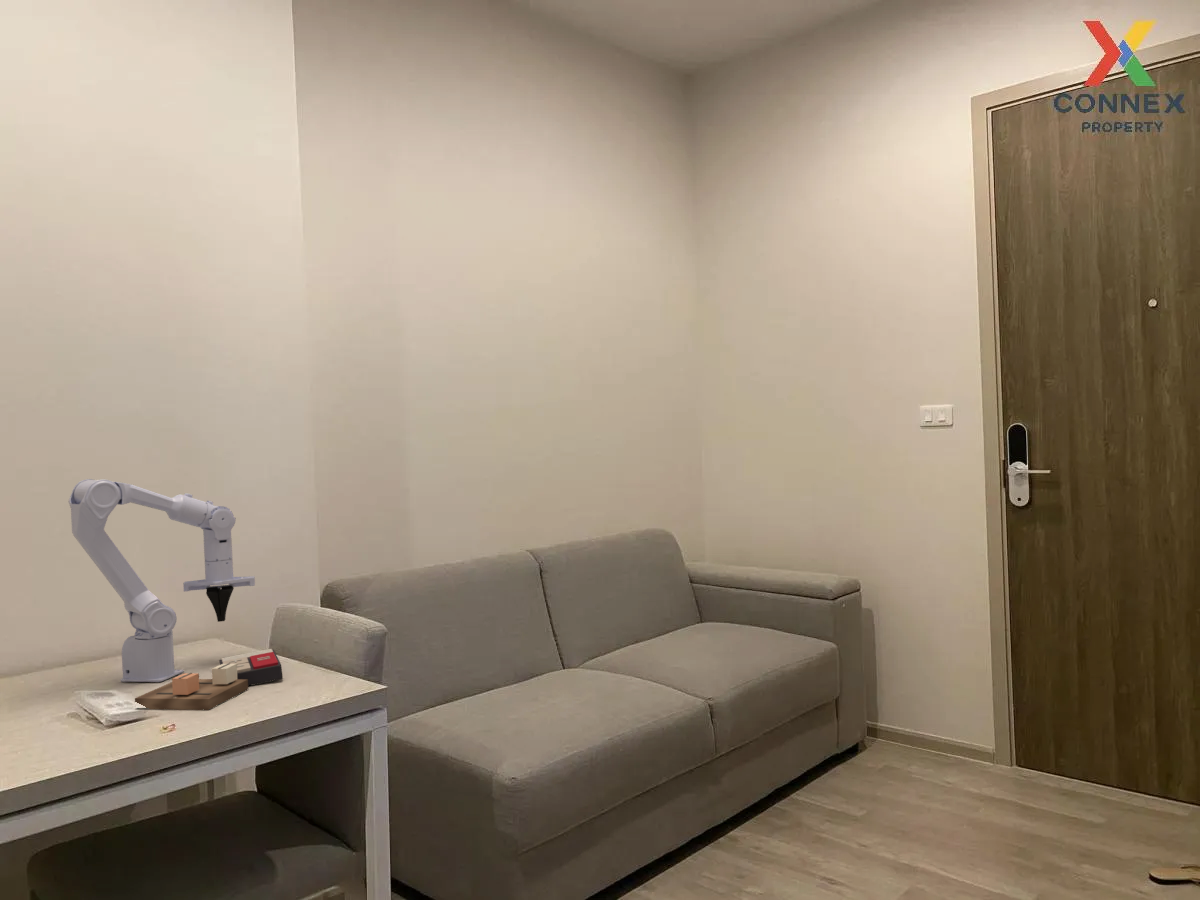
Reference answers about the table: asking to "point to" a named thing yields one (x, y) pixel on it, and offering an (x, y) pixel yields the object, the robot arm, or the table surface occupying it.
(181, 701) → the mixer panel
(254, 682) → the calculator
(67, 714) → the table surface
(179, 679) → the terracotta fader
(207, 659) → the table surface
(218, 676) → the ivory fader
